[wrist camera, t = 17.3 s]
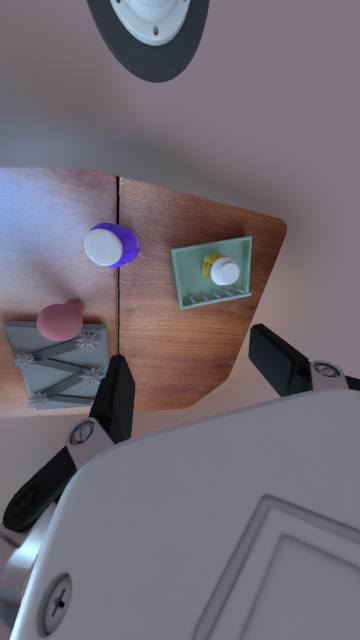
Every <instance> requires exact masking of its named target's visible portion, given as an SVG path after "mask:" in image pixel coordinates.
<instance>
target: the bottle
mask: <svg viewBox="0 0 360 640" xmlns="http://www.w3.org/2000/svg"><path fill="white" fill-rule="evenodd" d="M84 246H85V250H86V253H87V255H88V256H89V257H90V259H91V260H93V261H94V262H95V263H97V264H99V265H103V266H108V267H119V266H121V265H123V264H125V263H127V262H130V261H132V260H133V259H134V258H135V257H136V255H137V254H138V252H139V240H138V237H137V235H136V233H135V232H134V231H133V230H131V229H129V228H127V227H125V226H121V225H113V224H109V223H101V224H98V225H97V226H95V227H94V228H92V229H91V231H90V232H89V233H88V234H87V235H86V237H85V241H84Z"/></svg>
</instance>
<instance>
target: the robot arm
mask: <svg viewBox="0 0 360 640" xmlns="http://www.w3.org/2000/svg"><path fill="white" fill-rule="evenodd" d="M110 2H111V4H112V6H113V9H114V10H115V12H116V14H117V16H118V18H119V19H120V21H121V22H122V24H123V25H124V26H125V28H126V29H127V30H128V31H129V32H130V33H131V34H132V35H133V36H134V37H135V38H136V39H138V40H140V41H141V42H143V43H145V44H148V45H153V46H159V45H162V44H166V43H167V42H169V41H170V40H172V39H173V38H174V37H175V35H176V34H177V33H178V32H179V30H180V28H181V27H182V25H183V23H184V20H185V18H186V15H187V12H188V8H189V3H190V0H110ZM248 356H249V359H250V360H251V362H252V363H253V364H254V365H255V366H256V368H257V369H258V370H259V371H260V373H261V374H262V375H263V376H264V377H265V379H267V381H268V382H269V383H270V385H271V386H272V387H273V388H274V389H275V391H276V392H277V393H278V394H279V395H280V396H281V398H278V399H274V400H270V401H266V402H262V403H259V404H255V405H251V406H247V407H243V408H239V409H235V410H232V411H228V412H224V413H220V414H217V415H213V416H209V417H206V418H202V419H198V420H194V421H190V422H187V423H183V424H180V425H176V426H172V427H169V428H165V429H161V430H158V431H154V432H151V433H147V434H144V435H141V436H137V437H134V438H131V431H132V420H133V409H134V397H135V382H134V379H133V377H132V374H131V372H130V369H129V367H128V364H127V361H126V359H125V357H124V356H121V354H119V355H115V356H112V357H111V360H110V363H109V366H108V369H107V372H106V376H105V378H102V379H101V381H100V384H99V387H98V390H97V393H96V396H95V399H94V402H93V405H92V408H91V411H90V414H89V417H88V418H84V419H82V420H81V421H79V422H77V423H76V424H75V425H74V426H73V427H72V428H71V430H70V431H69V433H68V435H67V437H66V446H65V447H64V448H63V449H61V451H59V452H58V453H57V454H56V455H55V456H54V457H53V458H52V459H51V460H50V461H49V462H48V463H47V464H46V465H45V466H44V467H42V468H41V469H40V470H39V471H38V472H37V473H36V474H35V475H34V476H33V477H32V478H31V479H30V480H29V481H28V482H27V483H26V484H24V486H22V487H21V488H20V489H19V491H18V492H17V493H16V494H15V495H14V497H13V498H12V500H11V501H10V502H9V504H8V506H7V508H6V510H5V513H4V516H3V521H2V523H1V524H0V640H360V379H357V378H353V377H349V376H345V375H344V373H343V371H342V370H341V369H340V368H339V367H337V366H336V365H334V364H332V363H329V362H326V361H320V360H318V361H313V362H309V361H308V358H307V357H305V356H304V355H303V354H301V353H300V352H299V351H297V350H296V349H295V348H294V347H292V346H291V345H290V344H288V343H287V342H286V341H284V340H283V339H281V338H280V337H279V336H278V335H276V334H275V333H274V332H272V331H271V330H270V329H268V328H267V327H266V326H264V325H263V324H256V325H253V327H252V328H251V330H250V343H249V355H248ZM129 438H131V439H129ZM40 547H41V548H40ZM39 549H40V551H39V554H37V552H38V550H39ZM36 559H37V560H36ZM35 560H36V563H35V566H34V568H33V571H32V574H31V577H30V580H29V583H28V586H27V589H26V592H25V595H24V598H23V601H22V604H20V597H21V591H22V587H23V584H24V581H25V579H26V577H27V575H28V572H29V571H30V569H31V567H32V565H33V564H34V562H35Z"/></svg>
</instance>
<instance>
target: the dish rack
mask: <svg viewBox="0 0 360 640" xmlns="http://www.w3.org/2000/svg"><path fill="white" fill-rule="evenodd" d="M251 247H252V236H244V237H238V238H232V239H226V240H220V241H214V242H208V243H202V244H196V245H190V246H184V247H178V248H172V249H171V255H172V262H173V268H174V275H175V281H176V288H177V294H178V301H179V306H180V308H181V309H186V308H191V307H196V306H201V305H206V304H211V303H216V302H221V301H226V300H231V299H236V298H241V297H246V296H249V295H252V293H251V292H249V277H250V262H251ZM211 253H216V254H220V255H223V256H228V257H231V258H232V259H234V260H235V261H236V263H237V266H238V267H239V271H240V273H239V277H238V279H237V280H236V281H235V282H234V283H232V284H227V285H218V284H216V283H215V282H213V281H212V280H210V279H209V278H207V277H206V276H205V275H204V274H203V273H202V271H201V262H202V260H203V258H204V257H205V256H206V255H208V254H211Z"/></svg>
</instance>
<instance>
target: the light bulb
mask: <svg viewBox="0 0 360 640" xmlns="http://www.w3.org/2000/svg"><path fill="white" fill-rule="evenodd" d="M83 310H84V304H83V303H82V302H81V301H79V300H76V299H72V300H69V301H68V302H66V303H65V304H54V305H50V306H48V307H46V308H44V309H43V310H42V311H41V312H40V313H39V315H38V317H37V322H36V323H37V328H38V330H39V332H40V333H41V334H42V335H43V336H44V337H46V338H48V339H50V340H54V341H65V340H69V339H71V338H73V337H75V336H76V335H77V334H78V333H79V332H80V330H81V329H82V326H83V319H82V312H83Z"/></svg>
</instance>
